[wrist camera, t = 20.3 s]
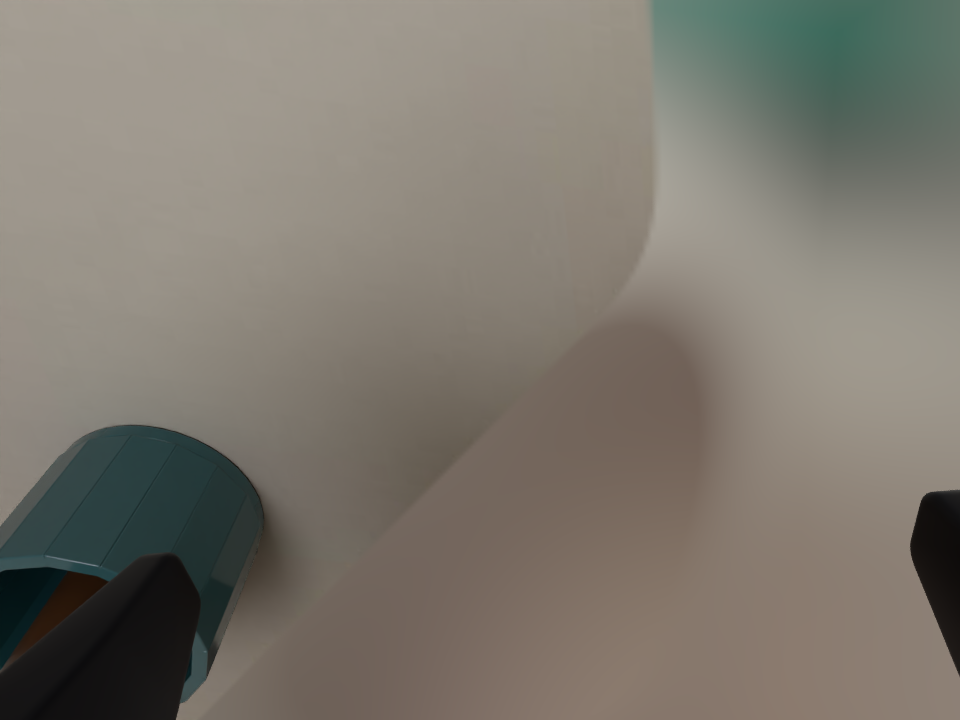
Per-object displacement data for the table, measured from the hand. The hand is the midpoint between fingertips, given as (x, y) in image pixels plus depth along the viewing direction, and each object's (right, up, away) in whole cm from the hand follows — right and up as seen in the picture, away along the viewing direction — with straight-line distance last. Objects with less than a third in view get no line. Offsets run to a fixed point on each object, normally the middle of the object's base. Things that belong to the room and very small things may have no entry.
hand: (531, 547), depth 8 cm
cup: (-13, -3, +18) cm, 22 cm away
